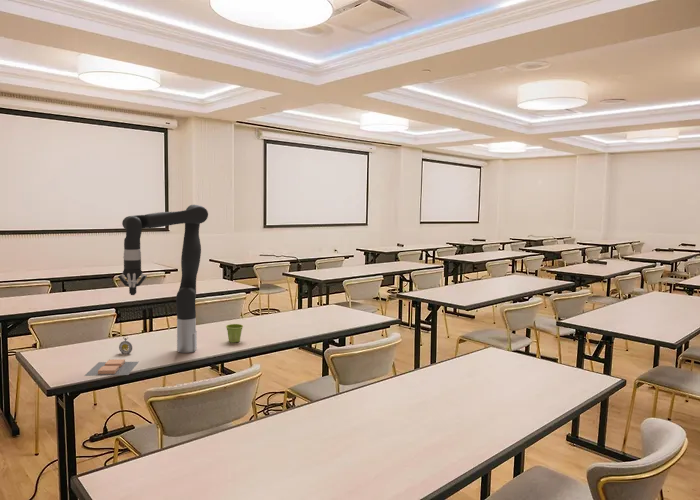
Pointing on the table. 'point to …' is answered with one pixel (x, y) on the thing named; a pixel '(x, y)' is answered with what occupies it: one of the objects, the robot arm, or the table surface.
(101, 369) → the tile near
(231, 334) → the plant pot
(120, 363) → the tile far
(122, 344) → the pocket watch
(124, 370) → the slate board
